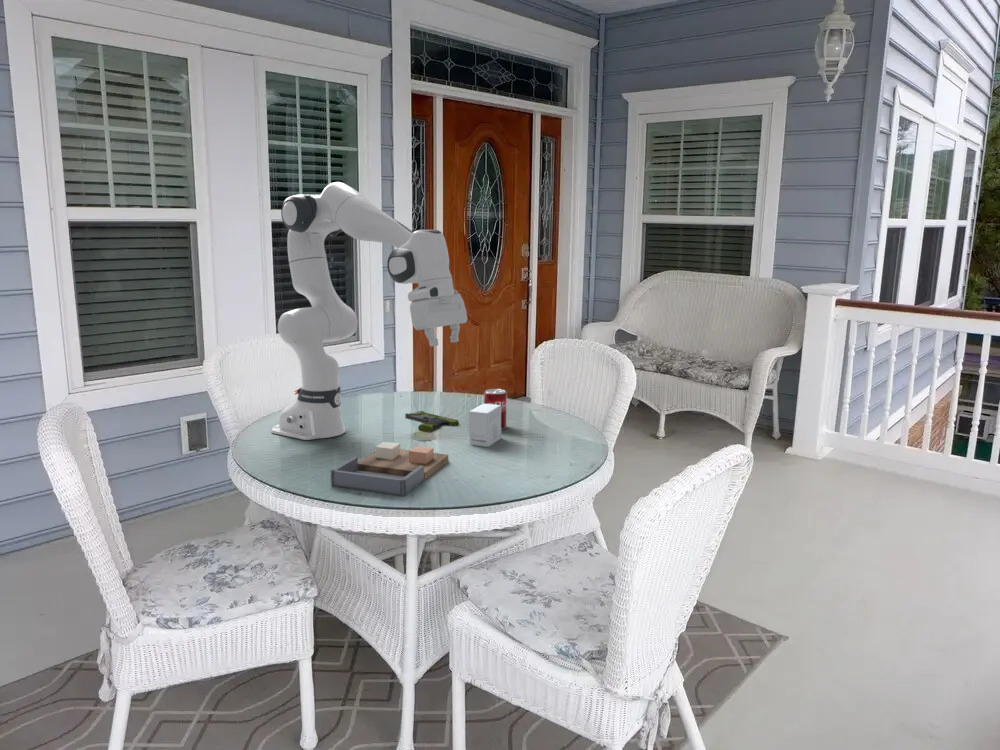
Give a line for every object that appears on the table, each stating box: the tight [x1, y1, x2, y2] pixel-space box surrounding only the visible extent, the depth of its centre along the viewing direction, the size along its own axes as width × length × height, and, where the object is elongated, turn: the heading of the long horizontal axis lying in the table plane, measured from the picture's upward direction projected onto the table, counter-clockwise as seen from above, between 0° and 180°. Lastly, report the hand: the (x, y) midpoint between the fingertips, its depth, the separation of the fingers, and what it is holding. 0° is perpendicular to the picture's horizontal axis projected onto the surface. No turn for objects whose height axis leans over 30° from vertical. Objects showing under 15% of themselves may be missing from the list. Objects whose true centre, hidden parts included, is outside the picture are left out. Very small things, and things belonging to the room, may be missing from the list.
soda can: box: [483, 388, 508, 431], centre depth 248 cm, size 7×7×12 cm
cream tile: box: [374, 441, 401, 459], centre depth 212 cm, size 5×5×3 cm
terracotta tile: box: [409, 445, 435, 464], centre depth 209 cm, size 5×5×3 cm
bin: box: [330, 456, 425, 497], centre depth 196 cm, size 20×12×4 cm, turn 72°
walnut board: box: [358, 448, 449, 481], centre depth 210 cm, size 20×16×2 cm
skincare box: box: [468, 403, 502, 448], centre depth 233 cm, size 10×6×10 cm, turn 157°
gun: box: [404, 410, 460, 433], centre depth 253 cm, size 2×19×15 cm
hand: (444, 344), depth 202 cm, fingers open, 8 cm apart
